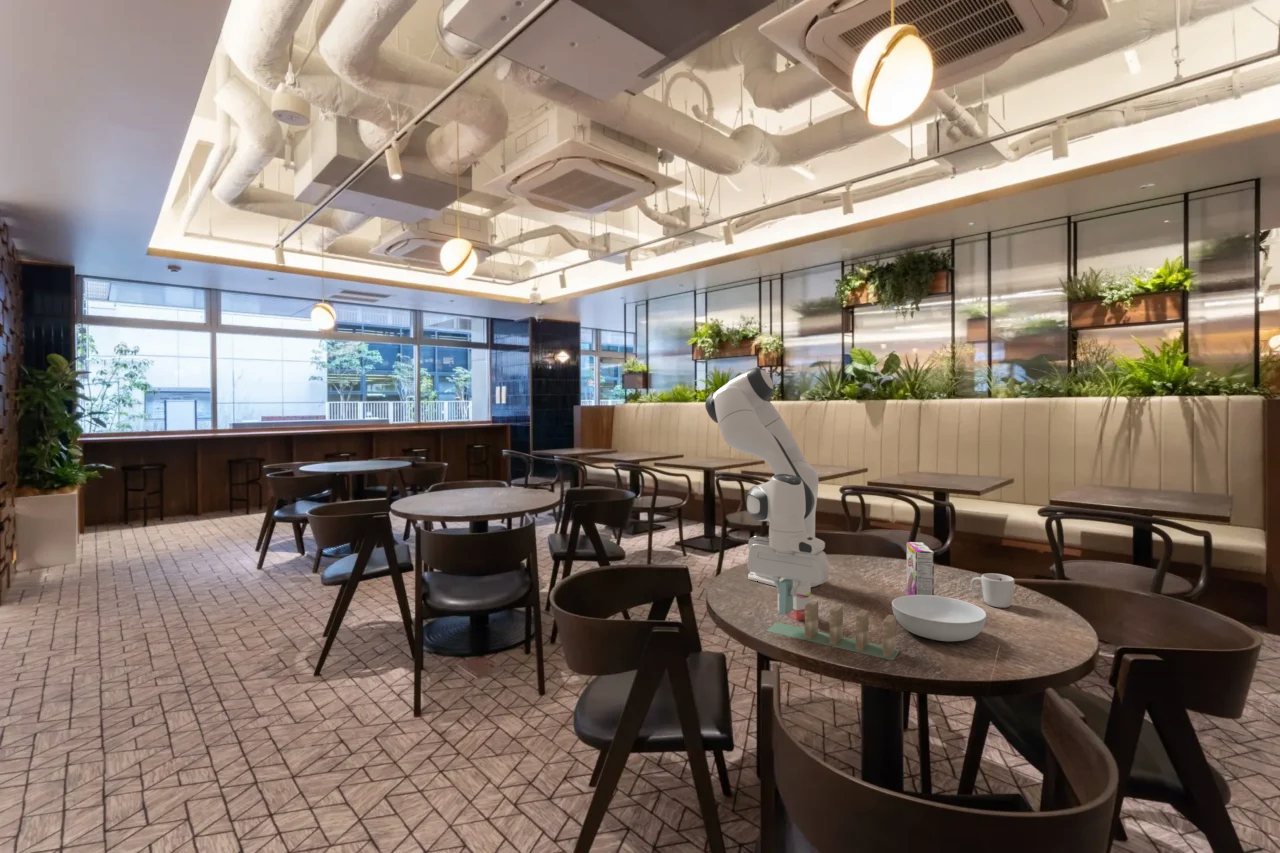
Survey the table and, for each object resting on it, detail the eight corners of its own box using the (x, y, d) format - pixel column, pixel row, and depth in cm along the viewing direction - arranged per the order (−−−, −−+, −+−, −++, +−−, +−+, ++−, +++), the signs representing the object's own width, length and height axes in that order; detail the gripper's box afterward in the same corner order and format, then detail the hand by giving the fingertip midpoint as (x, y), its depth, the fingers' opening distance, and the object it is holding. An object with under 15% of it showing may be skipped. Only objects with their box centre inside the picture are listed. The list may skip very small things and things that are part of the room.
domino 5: (882, 656, 134) (883, 621, 133) (888, 648, 138) (888, 614, 138) (890, 657, 133) (890, 622, 133) (895, 650, 137) (895, 615, 137)
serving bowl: (970, 622, 155) (970, 596, 154) (999, 656, 134) (1000, 626, 134) (884, 616, 159) (885, 591, 159) (900, 647, 139) (900, 618, 139)
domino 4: (855, 649, 137) (855, 615, 137) (861, 642, 141) (861, 609, 141) (862, 651, 136) (863, 617, 136) (868, 644, 140) (868, 610, 140)
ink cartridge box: (811, 618, 158) (812, 563, 157) (796, 621, 156) (796, 565, 155) (791, 608, 166) (791, 556, 165) (776, 610, 164) (776, 558, 163)
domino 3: (829, 643, 141) (829, 610, 140) (835, 637, 145) (836, 604, 144) (836, 645, 140) (836, 611, 139) (842, 638, 144) (842, 605, 144)
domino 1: (779, 614, 148) (779, 582, 147) (787, 608, 152) (787, 577, 151) (785, 615, 147) (785, 583, 146) (793, 609, 151) (793, 578, 150)
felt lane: (765, 631, 149) (765, 630, 149) (776, 623, 155) (776, 622, 155) (893, 661, 132) (893, 660, 132) (900, 650, 137) (900, 649, 137)
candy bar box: (905, 596, 175) (905, 541, 175) (923, 597, 174) (924, 542, 174) (914, 609, 164) (915, 550, 164) (934, 610, 163) (935, 551, 163)
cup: (966, 603, 169) (967, 575, 169) (974, 596, 175) (974, 569, 175) (1010, 612, 162) (1011, 583, 162) (1016, 604, 168) (1017, 576, 168)
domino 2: (804, 638, 144) (804, 605, 144) (811, 631, 148) (811, 599, 148) (811, 639, 143) (811, 606, 143) (818, 633, 147) (818, 601, 147)
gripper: (743, 536, 152) (743, 590, 152) (822, 548, 140) (822, 606, 141) (753, 532, 157) (753, 584, 158) (831, 543, 145) (830, 599, 146)
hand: (786, 594), depth 149 cm, fingers closed on domino 1, 2 cm apart
